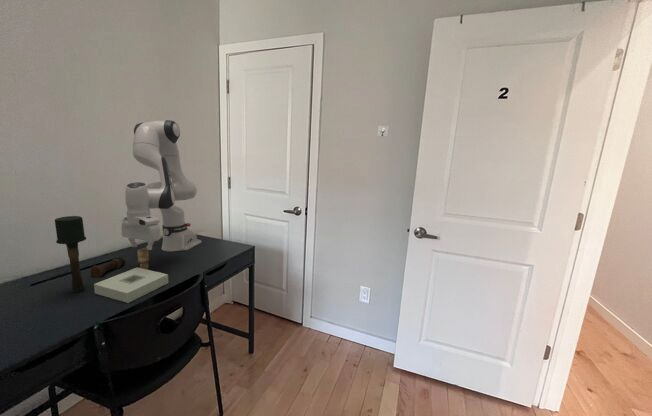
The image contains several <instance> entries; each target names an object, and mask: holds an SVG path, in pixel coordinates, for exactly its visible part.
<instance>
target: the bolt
mask: <svg viewBox="0 0 652 416" xmlns="http://www.w3.org/2000/svg"><path fill="white" fill-rule="evenodd" d="M126 263H127V260H126V259H125V258H122V257H121V258H113V259H111V261H110V262H108V263H106V264H105V263H104V265H93V266H92V267H91V269H90V274H91V276H92V277H94V278H101V277H103V276H104V273H106V272H109V271H111V270H113V269H115V270H116V269H120V268H121V267H122V266H123V265H125V264H126Z"/></svg>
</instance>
